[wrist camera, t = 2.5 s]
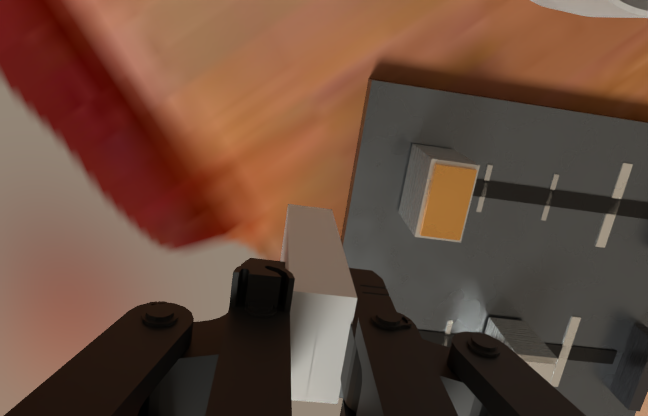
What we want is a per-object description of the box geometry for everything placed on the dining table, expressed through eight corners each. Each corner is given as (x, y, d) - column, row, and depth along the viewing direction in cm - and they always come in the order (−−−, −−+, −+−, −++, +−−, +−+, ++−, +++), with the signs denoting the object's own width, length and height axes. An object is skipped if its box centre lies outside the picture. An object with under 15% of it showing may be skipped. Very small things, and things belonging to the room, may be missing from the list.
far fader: (489, 317, 31) (518, 357, 27) (525, 321, 32) (560, 361, 28) (473, 371, 33) (499, 418, 28) (509, 375, 33) (540, 421, 29)
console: (368, 78, 28) (378, 82, 25) (727, 134, 30) (776, 144, 27) (315, 383, 34) (318, 417, 31) (620, 411, 36) (650, 445, 33)
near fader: (412, 143, 28) (433, 160, 24) (454, 149, 28) (482, 166, 24) (398, 212, 29) (416, 239, 25) (438, 217, 29) (462, 244, 25)
